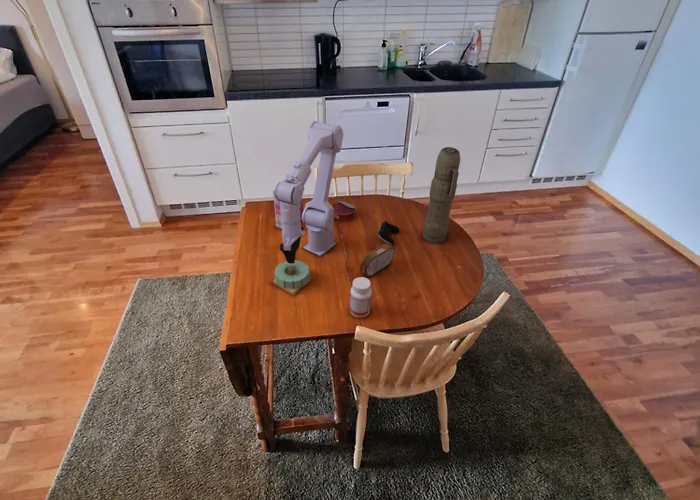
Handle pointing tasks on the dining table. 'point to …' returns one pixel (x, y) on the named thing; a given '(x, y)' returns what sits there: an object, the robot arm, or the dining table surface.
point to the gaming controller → (387, 232)
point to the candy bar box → (278, 213)
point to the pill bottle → (360, 297)
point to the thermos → (442, 195)
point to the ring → (290, 280)
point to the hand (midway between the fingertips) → (293, 255)
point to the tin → (377, 259)
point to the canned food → (343, 211)
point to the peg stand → (293, 291)
